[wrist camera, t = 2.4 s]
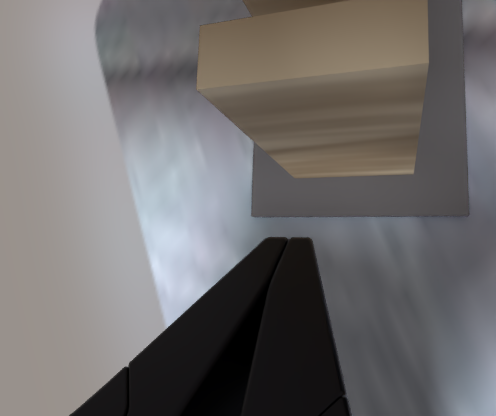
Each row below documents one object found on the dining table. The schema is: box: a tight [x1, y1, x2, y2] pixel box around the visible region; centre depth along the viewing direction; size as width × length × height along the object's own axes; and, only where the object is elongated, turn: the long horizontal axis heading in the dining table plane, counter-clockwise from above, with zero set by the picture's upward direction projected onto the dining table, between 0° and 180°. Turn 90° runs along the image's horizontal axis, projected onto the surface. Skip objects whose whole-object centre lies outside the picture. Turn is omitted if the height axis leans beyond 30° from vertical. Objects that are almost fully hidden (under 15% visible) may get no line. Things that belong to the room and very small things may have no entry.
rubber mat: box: [251, 0, 469, 217], centre depth 20 cm, size 17×9×1 cm, turn 178°
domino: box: [196, 0, 429, 178], centre depth 14 cm, size 2×5×10 cm, turn 88°
